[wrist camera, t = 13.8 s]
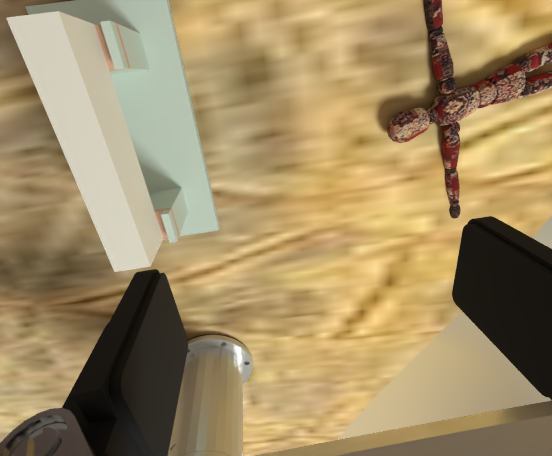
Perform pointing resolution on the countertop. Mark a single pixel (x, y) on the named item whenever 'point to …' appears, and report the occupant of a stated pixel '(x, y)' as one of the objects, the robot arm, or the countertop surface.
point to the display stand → (153, 106)
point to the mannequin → (464, 97)
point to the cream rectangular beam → (91, 132)
